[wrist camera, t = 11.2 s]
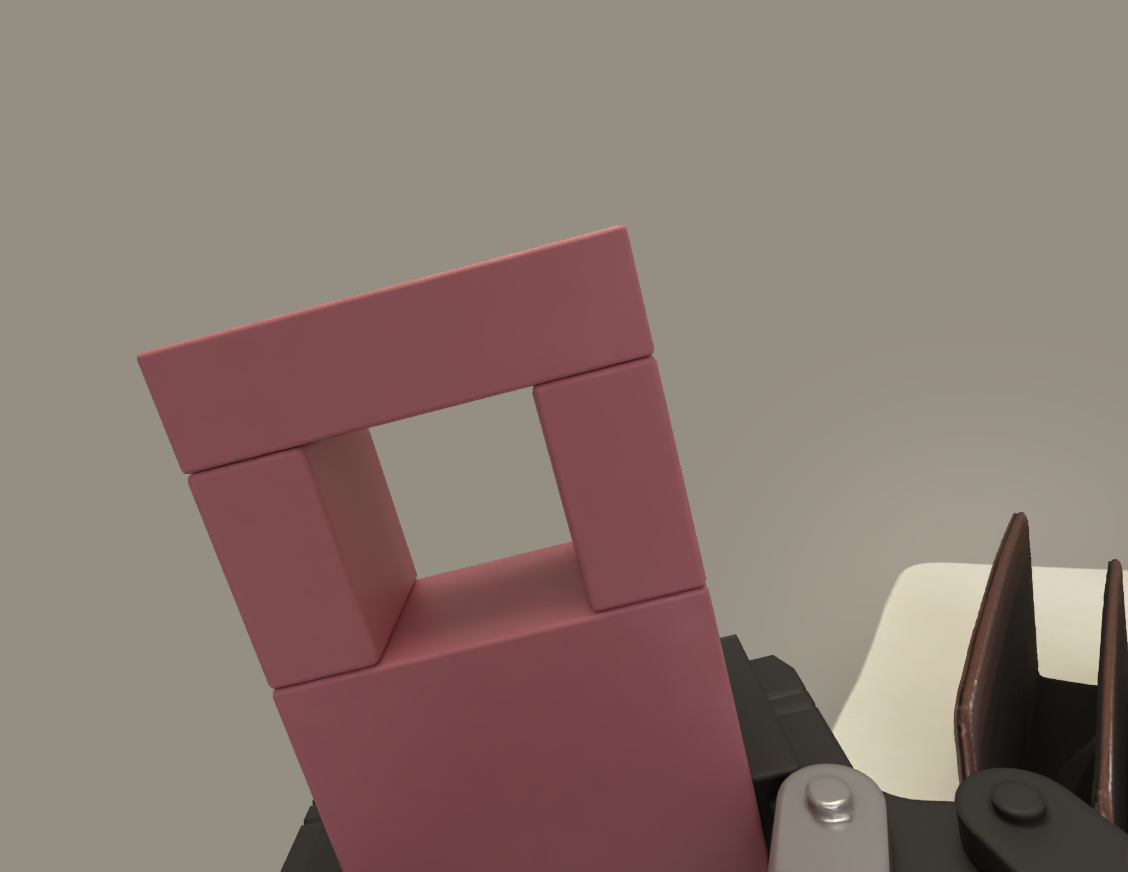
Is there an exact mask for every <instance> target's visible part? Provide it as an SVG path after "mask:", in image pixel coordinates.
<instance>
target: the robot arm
mask: <svg viewBox="0 0 1128 872" xmlns="http://www.w3.org/2000/svg"><path fill="white" fill-rule="evenodd" d="M720 641H721V646H722V650H723V655H724V659H725V663H726V668H727V672H728V677H729V681H730V685H731V690H732V694H733V699H734V703H735V707H736V712H737V716H738V721H739V725H740V730H741V734H742V738H743V743H744V747H745V752H746V756H747V760H748V765H749V769H750V774H751V778H752V782H753V787H754V791H755V796H756V800H757V804H758V809H759V813H760V818H761V822H762V826H763V831H764V835H765V840H766V844H767V848H768V853H769V865H768V872H1128V834H1127V833H1125V832H1124V831H1123V830H1121V829H1120V828H1119V827H1117V826H1116V825H1115V824H1113V823H1112V822H1111V821H1109V820H1108V819H1107V818H1105V817H1104V816H1103V815H1101V814H1100V813H1099V812H1097V811H1096V810H1095V809H1093V808H1092V807H1091V806H1089V805H1088V804H1087V803H1085V802H1084V801H1083V800H1081V799H1080V798H1079V797H1077V796H1076V795H1075V794H1073V793H1072V792H1070V791H1069V790H1068V789H1066V788H1065V787H1063V786H1062V785H1060V784H1059V783H1057V782H1055V781H1053V780H1051V779H1049V778H1047V777H1045V776H1042V775H1040V774H1037V773H1034V772H1030V771H1026V770H1021V769H1015V768H992V769H986V770H982V771H979V772H976V773H974V774H972V775H970V776H968V777H967V778H966V779H965V780H963V781H962V782H961V784H960V785H959V786H958V788H957V791H956V794H955V802H950V801H925V800H912V799H906V798H901V797H897V796H894V795H891V794H888V793H886V792H883V791H881V789H880V788H879V786H878V785H877V784H876V783H875V782H874V781H873V780H872V779H871V778H869V777H868V776H867V775H865V774H864V773H862V772H860V771H858V770H856V769H854V768H853V767H852V765H851V763H850V762H849V760H848V758H847V756H846V755H845V753H844V751H843V750H842V748H841V746H840V745H839V743H838V741H837V740H836V738H835V736H834V735H833V733H832V731H831V730H830V728H829V726H828V725H827V723H826V721H825V720H824V718H823V717H822V715H821V713H820V711H819V710H818V708H816V706H815V703H814V701H813V699H812V698H811V696H810V694H809V693H808V691H806V688H805V686H804V684H803V683H802V681H801V679H800V677H799V676H798V674H797V672H796V671H795V669H794V668H792V667H791V666H789V665H788V664H786V663H785V662H783V661H781V660H780V659H778V658H777V657H775V656H773V655H771V656H767V657H763V658H759V659H754V660H750V661H749V659H748V657H747V655H746V653H745V651H744V649H743V647H742V645H741V643H740V641H739V639H738V637H737V635H736V634H734V635H730V636H726V637H722V638H720ZM281 872H343V871H342V869H341V866H340V864H339V861H338V859H337V856H336V854H335V851H334V849H333V846H332V844H331V841H330V839H329V836H328V834H327V831H326V829H325V826H324V824H323V821H322V819H321V816H320V814H319V811H318V809H317V806H316V804H315V801H314V799H313V806H310V808H309V810H308V812H307V815H306V817H305V819H304V825H303V826H301V828H300V830H299V832H298V834H297V837H296V839H295V841H294V843H293V845H292V848H291V850H290V852H289V854H288V856H287V859H286V861H285V863H284V865H283V867H282V870H281Z"/></svg>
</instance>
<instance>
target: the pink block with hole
mask: <svg viewBox="0 0 1128 872" xmlns="http://www.w3.org/2000/svg"><path fill="white" fill-rule="evenodd" d="M653 352H654V346H653V342H652V337H651V333H650V329H649V324H648V319H647V315H646V311H645V307H644V303H643V298H642V293H641V289H640V284H639V280H638V276H637V271H636V267H635V262H634V258H633V254H632V249H631V245H630V240H629V236H628V232H627V229H626V227H625V226H624V225H617V226H614V227H610V228H607V229H603V230H599V231H595V232H591V233H587V234H584V235H580V236H576V237H573V238H569V239H565V240H561V241H558V242H554V243H550V244H546V245H542V246H539V247H535V248H532V249H527V250H524V251H520V252H516V253H512V254H509V255H505V256H502V257H497V258H494V259H490V260H486V261H482V262H479V263H475V264H471V265H467V266H464V267H460V268H456V269H452V270H449V271H445V272H442V273H438V274H434V275H430V276H426V277H422V278H419V279H415V280H411V281H407V282H404V283H400V284H397V285H392V286H389V287H385V288H381V289H377V290H374V291H370V292H366V293H363V294H359V295H355V296H351V297H348V298H344V299H340V300H336V301H333V302H329V303H325V304H321V305H317V306H314V307H310V308H306V309H302V310H299V311H295V312H291V313H287V314H284V315H280V316H276V317H273V318H269V319H265V320H261V321H257V322H254V323H250V324H246V325H242V326H239V327H235V328H231V329H227V330H224V331H220V332H217V333H213V334H209V335H205V336H201V337H197V338H194V339H190V340H186V341H183V342H179V343H175V344H171V345H167V346H164V347H160V348H156V349H152V350H149V351H145V352H142V353H140V354H139V355H138V356H137V360H138V363H139V366H140V368H141V371H142V373H143V376H144V378H145V381H146V383H147V386H148V388H149V391H150V393H151V396H152V398H153V401H154V403H155V406H156V408H157V411H158V413H159V416H160V418H161V421H162V423H163V426H164V428H165V431H166V433H167V436H168V438H169V441H170V443H171V446H172V448H173V451H174V453H175V455H176V458H177V461H178V463H179V466H180V468H181V470H182V472H183V473H184V474H191V473H192V474H191V475H190V476H189V477H188V484H189V487H190V489H191V492H192V494H193V497H194V499H195V502H196V504H197V507H198V509H199V512H200V514H201V517H202V519H203V522H204V524H205V527H206V529H207V532H208V534H209V537H210V539H211V542H212V544H213V547H214V549H215V552H216V554H217V557H218V559H219V562H220V564H221V567H222V569H223V572H224V574H225V577H226V579H227V582H228V584H229V587H230V589H231V592H232V594H233V597H234V599H235V602H236V604H237V607H238V609H239V612H240V614H241V617H242V619H243V622H244V624H245V627H246V629H247V632H248V634H249V637H250V639H251V642H252V644H253V647H254V649H255V652H256V654H257V657H258V659H259V662H260V664H261V667H262V669H263V672H264V674H265V677H266V679H267V681H268V684H269V686H270V687H271V688H275V689H274V691H273V699H274V701H275V704H276V706H277V709H278V711H279V714H280V716H281V719H282V721H283V724H284V726H285V729H286V731H287V734H288V736H289V739H290V741H291V744H292V746H293V749H294V751H295V754H296V756H297V759H298V761H299V764H300V766H301V769H302V771H303V774H304V776H305V779H306V781H307V784H308V786H309V789H310V791H311V793H312V796H313V799H314V801H315V804H316V806H317V809H318V811H319V814H320V816H321V819H322V821H323V824H324V826H325V829H326V831H327V834H328V836H329V839H330V841H331V844H332V846H333V849H334V851H335V854H336V856H337V859H338V861H339V864H340V866H341V869H342V871H343V872H768V865H769V853H768V848H767V844H766V840H765V835H764V831H763V826H762V822H761V818H760V813H759V809H758V804H757V800H756V796H755V791H754V787H753V782H752V778H751V774H750V769H749V765H748V760H747V756H746V752H745V747H744V743H743V738H742V734H741V730H740V725H739V721H738V716H737V712H736V707H735V703H734V699H733V694H732V690H731V685H730V681H729V677H728V672H727V668H726V663H725V659H724V655H723V650H722V646H721V641H720V637H719V633H718V629H717V624H716V619H715V615H714V611H713V606H712V602H711V598H710V593H709V590H708V588H707V585H706V583H705V580H706V576H705V572H704V568H703V563H702V559H701V555H700V550H699V545H698V541H697V537H696V532H695V528H694V524H693V519H692V514H691V511H690V506H689V501H688V497H687V492H686V488H685V484H684V479H683V475H682V470H681V466H680V462H679V457H678V453H677V449H676V444H675V440H674V435H673V431H672V427H671V422H670V418H669V413H668V409H667V404H666V400H665V396H664V391H663V387H662V382H661V378H660V374H659V369H658V365H657V361H656V360H655V359H654V357H653V356H652V355H651V354H653ZM530 386H533V393H532V394H533V398H534V401H535V405H536V409H537V412H538V416H539V420H540V424H541V427H542V431H543V435H544V438H545V442H546V446H547V449H548V453H549V456H550V460H551V464H552V468H553V471H554V475H555V479H556V482H557V486H558V490H559V493H560V497H561V501H562V504H563V508H564V512H565V515H566V519H567V523H568V526H569V530H570V534H571V538H572V542H568V543H564V544H560V545H556V546H552V547H548V548H544V549H540V550H536V551H532V552H528V553H523V554H520V555H515V556H512V557H508V558H503V559H499V560H495V561H491V562H487V563H483V564H479V565H475V566H471V567H467V568H462V569H458V570H454V571H450V572H446V573H442V574H438V575H434V576H430V577H426V578H422V579H418V580H416V577H417V573H416V570H415V568H414V564H413V561H412V558H411V555H410V552H409V549H408V546H407V543H406V540H405V537H404V534H403V531H402V528H401V525H400V522H399V519H398V516H397V513H396V510H395V507H394V504H393V501H392V498H391V495H390V492H389V489H388V486H387V483H386V480H385V477H384V474H383V471H382V468H381V465H380V462H379V459H378V456H377V453H376V450H375V447H374V444H373V441H372V438H371V434H370V432H369V429H368V428H370V427H374V426H378V425H382V424H386V423H390V422H394V421H397V420H401V419H405V418H409V417H413V416H417V415H421V414H425V413H428V412H432V411H436V410H440V409H444V408H448V407H452V406H456V405H459V404H463V403H467V402H471V401H475V400H479V399H483V398H486V397H491V396H495V395H498V394H502V393H506V392H510V391H514V390H517V389H522V388H526V387H530Z"/></svg>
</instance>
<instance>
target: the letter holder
mask: <svg viewBox="0 0 1128 872" xmlns="http://www.w3.org/2000/svg"><path fill="white" fill-rule="evenodd" d="M1030 556H1031V553H1030V541H1029V526H1028V520H1027V517H1026V515H1025V513H1023V512H1019V513H1018V514H1016V513H1014V514H1013V516H1012V518H1011V520H1010V522H1009V524H1008V527H1007V529H1006V531H1005V534H1004V537H1003V539H1002V541H1001V544H1000V547H999V549H998V552H997V554H996V557H995V560H994V562H993V566H992V569H991V572H990V575H989V579H988V582H987V586H986V588H985V593H984V596H983V599H982V602H981V606H980V610H979V612H978V617H977V620H976V623H975V627H974V629H973V633H972V637H971V640H970V644H969V648H968V651H967V657H966V661H965V665H964V669H963V673H962V677H961V681H960V684H959V688H958V692H957V698H956V704H955V710H954V735H955V743H956V751H957V764H958V775H959V785H960V784H961V782H962V781H963V780H965V779H966V778H967V777H968V776H970V775H972V774H974V773H976V772H979V771H982V770H986V769H992V768H1015V769H1021V770H1026V771H1030V772H1034V773H1037V774H1040V775H1042V776H1045V777H1047V778H1049V779H1051V780H1053V781H1055V782H1057V783H1059V784H1060V785H1062V786H1063V787H1065V788H1066V789H1068V790H1069V791H1070V792H1072V793H1073V794H1075V795H1076V796H1077V797H1079V798H1080V799H1081V800H1083V801H1084V802H1085V803H1087V804H1088V805H1089V806H1091V807H1092V808H1093V809H1095V810H1096V811H1097V812H1099V813H1100V814H1101V815H1103V816H1104V817H1105V818H1107V819H1108V820H1109V821H1111V822H1112V823H1113V824H1115V825H1116V826H1117V827H1119V828H1120V829H1121V830H1123V831H1124V832H1125V833H1127V834H1128V643H1127V631H1126V619H1125V606H1124V592H1123V574H1122V566H1121V563H1120V561H1118V560H1116V559H1114V560H1112V561H1109V563H1108V571H1107V575H1106V584H1105V591H1104V606H1103V613H1102V628H1101V644H1100V658H1099V671H1098V686H1097V685H1088V684H1082V683H1075V682H1068V681H1063V680H1057V679H1051V678H1046V677H1042V676H1041V675H1040V674H1039V671H1038V659H1037V656H1038V654H1037V646H1036V627H1035V616H1034V613H1035V612H1034V601H1033V583H1032V567H1031V557H1030Z"/></svg>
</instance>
